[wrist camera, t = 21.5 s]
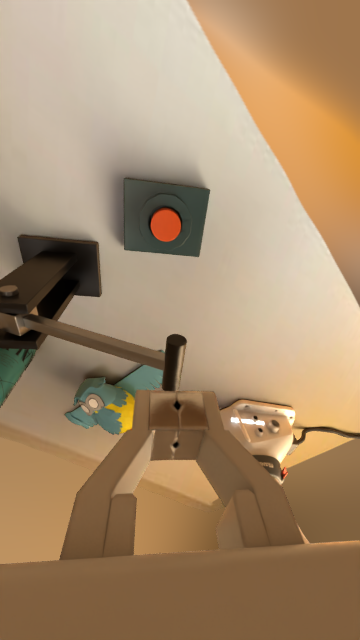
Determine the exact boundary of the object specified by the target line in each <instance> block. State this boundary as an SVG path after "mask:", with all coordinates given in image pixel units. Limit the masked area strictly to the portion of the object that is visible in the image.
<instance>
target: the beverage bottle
mask: <svg viewBox="0 0 360 640" xmlns="http://www.w3.org/2000/svg"><path fill="white" fill-rule="evenodd" d="M35 352H36V350H34V349H7V348H0V406H2V405H3V404H4V402H5V401H4V400H5V398H6V399H7V395H8V396H9V395H10V394H9V393H10V391H11V390H12V388H13V386H14V385H15V383H16V382H18V379H19V377H20V376H21V374H22V373H23V371H24V370H26V369H27V367H28V365H29V364H30V362H31V361H32V360H33V357H34V356H35V354H36V353H35ZM25 368H26V369H25ZM20 378H21V377H20ZM15 386H16V385H15ZM3 401H4V402H3ZM2 403H3V404H2ZM1 404H2V405H1Z"/></svg>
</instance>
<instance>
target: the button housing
mask: <svg viewBox="0 0 360 640" xmlns="http://www.w3.org/2000/svg"><path fill="white" fill-rule="evenodd" d="M209 194H210V190H209V189H205V188H198V187H190V186H183V185H176V184H168V183H161V182H153V181H146V180H138V179H131V178H124V250H130V251H141V252H151V253H162V254H172V255H183V256H194V257H199V255H200V249H201V243H202V236H203V230H204V224H205V218H206V212H207V206H208V200H209ZM161 208H169V209H172V210H173V211H175V212H176V214H177V215H178V217H179V219H180V223H181V229H180V232H179V234H178V236H177V237H176V238H175V239H173V240H171V241H167V242H165V241H161V240H159V239H157V238H156V237H155V236H154V235H153V233H152V231H151V219H152V216H153V214H154V213H155V212H156V211H157V210H159V209H161Z"/></svg>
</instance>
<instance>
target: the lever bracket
mask: <svg viewBox="0 0 360 640" xmlns="http://www.w3.org/2000/svg"><path fill="white" fill-rule="evenodd" d="M17 238H18V242H19V246H20V251H21V255H22V259H23V263H24V264H22V265H21V266H20V267H18V268H17V269H15V270H14V271H12V272H11V273H9V274H8V275H7V276H5V277H4V278H2V279H1V280H0V313H16V314H29V313H30V312H31V311H32V310H33V309H34V308H35V307H36V308H37V312H38V316H41V317H45V318H48V319H51V320H55V321H57V320H58V319H59V317H60V316H61V314H62V313H63V311H64V310H65V308H66V307H67V305H68V304H69V302H70V301H71V299H72V298H73V296H74V295H78V296H93V297H100V296H101V294H102V292H101V277H100V261H99V246H98V242H88V241H78V240H67V239H57V238H47V237H37V236H26V235H21V236H19V237H17ZM47 335H48V334H45V333H41V332H38V331H35V330H32V329H31V330H30V331H28V332H26V333H25V334H23V335H21V336H18V335H15V334H12V333H9V332H6V331H3V330H0V348H7V349H34V350H38V349H39V347H40V346H41V344H42V343H43V341H44V340H45V338H46V337H47Z"/></svg>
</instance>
